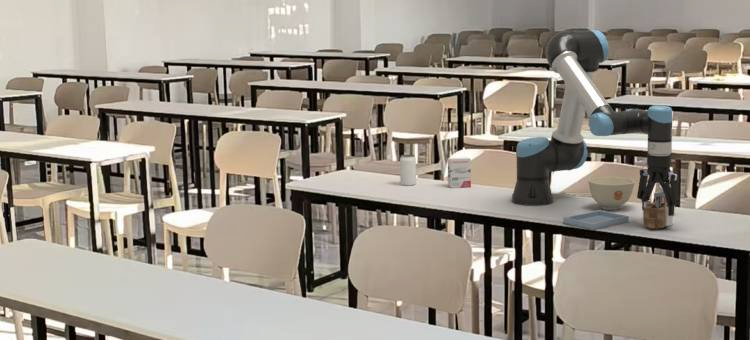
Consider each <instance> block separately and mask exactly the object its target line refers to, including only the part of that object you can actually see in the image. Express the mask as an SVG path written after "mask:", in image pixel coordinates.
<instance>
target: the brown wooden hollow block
mask: <svg viewBox="0 0 750 340" xmlns="http://www.w3.org/2000/svg"><path fill="white" fill-rule="evenodd" d="M666 205H668V204H667V203H661V207H660V208H655V201H653V202H652V201H651V204H649V205H647V206H646V207H644V208H643V210H642V211H643V212H642V216H643V217H642V226H643V227H647V228H648V229H656V228H659V229H662V228H665V227H666V226H665V206H666Z"/></svg>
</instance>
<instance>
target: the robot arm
mask: <svg viewBox="0 0 750 340" xmlns="http://www.w3.org/2000/svg"><path fill="white" fill-rule="evenodd" d="M609 49H610V48H609V42H608V39H607V37H606V35H605V34H604V33H603V32H601V31H599V30H596V29H592V30H591V29H587V30H586V29H584V30H583V29H581V30H563V31H559V32H557V33H555V34H553V36H552V37H551V38H550V39H549V41H548V43H547V45H546V49H545V56H546V60H547V61H546V62H547V64H548V65H549V67H550V68H551V71H553V72H554V73H555V74H559V76H560V77H561V79H562V80H563V82H564V83H565V88H564V93H563V98H562V104H561V109H560V114H559V118H558V124H557V128H556V129H555V130H553V131H552V133H551V137H550V140H549V139H548V137H545V136H537V137H535V136H534V137H529V138H525V139H522V140H520V141H518V143H517V145H516V152H515V155H516V182H515V185H514V189H513V193H512V195H511V202H512V204H513V203H514V204H515V205H516V204H517V205H522V206H544V205H551V204H552V203H554V194H553V193H552V189H551V186H550V182H549V181H550V180H549V173H551V172H561V171H562V172H563V171H573V170H577V169H579V168H581V167H582V166H583V165H584V164H585V163H586V160H587V158H588V149H587V147H588V145H587V143H586V141H585V140H584V137H583V135H582V134H581V132H582V127H583V123H584V117H585V113H586V114H587V115H588V117H589V120H588V127H589V132H590V133H591V134H592V135H593V136H596V137H608V136H616V135H630V134H645V135H647V150H646V152H647V156H646V159H647V160H646V165H647V168H644V169H639V176H640V177H639V181H638V188H637V195H636V198H637V199H639V200H641V209H642V211H643V208H644V207H646V206H647V205H649V204H651V203H652V201H651V195H652V193H653V191H654V188H655V185H656V183H657V184H659V186H660V185H661V186H662V188H663V192H664V195H665V198H666V201H667V204H668V205H666V206H665V227H669V226H672V225H673V216H674V215H675V206H677V205H680V204H681V199H680V190H679V174H678V173H673V172H672V171H671V166H672V155H671V154H672V150H673V149H672V148H673V147H672V145H673V143H672V142H673V141H672V140H673V122H674V118H673V108H672V107H670V106H667V105H653V106H650V107H649V108H648V110H644V109H640V108H629V109H627V110H624V111H614V109H613V108H612V106H611V105H610V104H609V103H608V102H607V100H606V99H605V98H604V96H603V95H602V93H601V92H600V90H599V89H598V87H597V86H596V85H595V83H594V82H593V80H592V78H593V75H594V74H595V73H596V72H598V70H599V68H600V67H599V66H600V64H602V63H604V62H606V60H607V59H608V58H609V53H610V50H609ZM670 187H671V188H670Z"/></svg>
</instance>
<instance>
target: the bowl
mask: <svg viewBox="0 0 750 340" xmlns="http://www.w3.org/2000/svg"><path fill="white" fill-rule="evenodd" d="M635 183H636V182H635V180H634V179H632V178H630V177H622V176H598V177H592V178H589V179H588V185H589V191H590V195H591V198H593V200H594V201H595V202H596V203H597V204H598V205H600V206H601V208H603V210H606V209H607V211H616V210H620V209H621V206H623V205H625V204H627V202H628V201H629V200H630V198H631V196H632V194H633V190H634V186H635Z"/></svg>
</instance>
